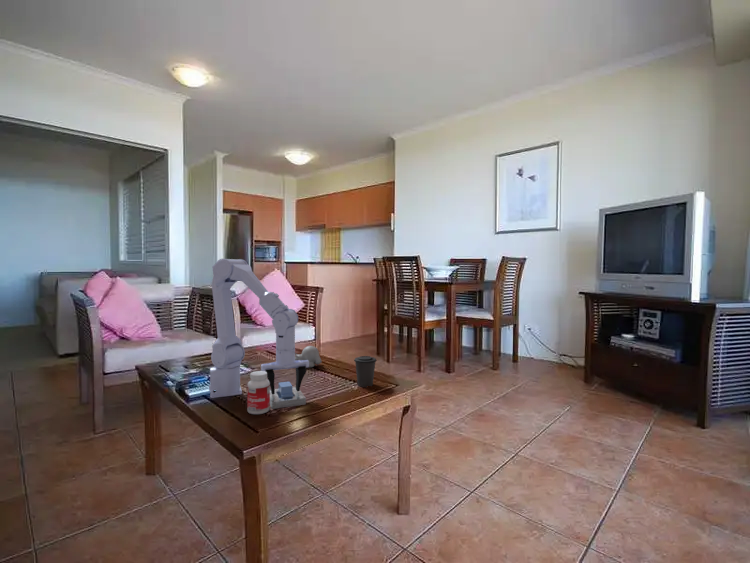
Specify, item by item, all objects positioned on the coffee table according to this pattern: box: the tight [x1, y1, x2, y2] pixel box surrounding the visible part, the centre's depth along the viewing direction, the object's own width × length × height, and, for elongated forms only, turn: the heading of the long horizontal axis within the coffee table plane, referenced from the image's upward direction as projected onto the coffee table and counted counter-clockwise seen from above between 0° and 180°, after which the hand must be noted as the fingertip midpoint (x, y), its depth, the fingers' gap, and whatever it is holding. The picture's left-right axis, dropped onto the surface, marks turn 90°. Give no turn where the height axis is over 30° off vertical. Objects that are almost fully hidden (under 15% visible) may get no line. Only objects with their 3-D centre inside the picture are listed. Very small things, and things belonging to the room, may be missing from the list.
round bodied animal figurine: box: [295, 345, 322, 369], centre depth 158 cm, size 7×12×8 cm, turn 99°
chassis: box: [270, 386, 307, 410], centre depth 118 cm, size 10×12×2 cm
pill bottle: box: [246, 370, 271, 415], centre depth 109 cm, size 6×6×11 cm
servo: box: [277, 381, 293, 400], centre depth 118 cm, size 8×3×5 cm, turn 24°
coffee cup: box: [353, 355, 377, 388], centre depth 134 cm, size 8×8×10 cm
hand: (285, 391), depth 118 cm, fingers open, 7 cm apart
